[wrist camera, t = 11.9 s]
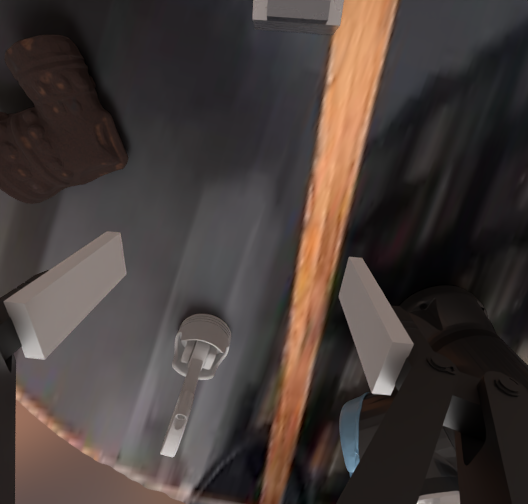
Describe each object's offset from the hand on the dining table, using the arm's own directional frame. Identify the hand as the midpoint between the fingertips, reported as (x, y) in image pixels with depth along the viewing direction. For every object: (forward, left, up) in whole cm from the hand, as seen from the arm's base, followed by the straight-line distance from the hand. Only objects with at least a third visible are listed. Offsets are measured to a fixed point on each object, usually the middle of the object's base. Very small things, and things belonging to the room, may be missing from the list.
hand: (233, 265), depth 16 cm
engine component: (+9, +32, -26) cm, 42 cm away
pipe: (+26, -5, -27) cm, 37 cm away
